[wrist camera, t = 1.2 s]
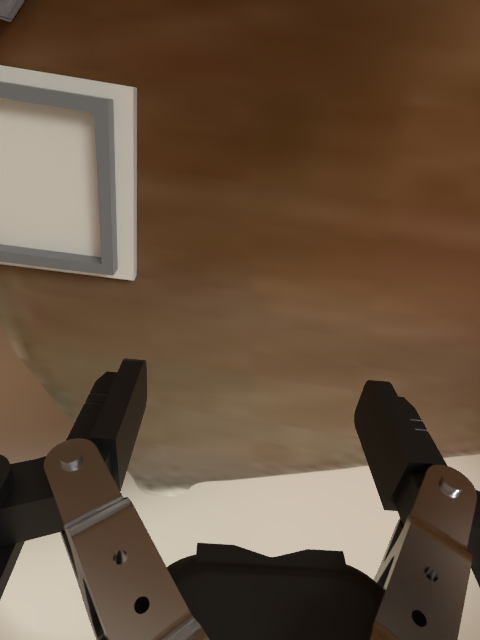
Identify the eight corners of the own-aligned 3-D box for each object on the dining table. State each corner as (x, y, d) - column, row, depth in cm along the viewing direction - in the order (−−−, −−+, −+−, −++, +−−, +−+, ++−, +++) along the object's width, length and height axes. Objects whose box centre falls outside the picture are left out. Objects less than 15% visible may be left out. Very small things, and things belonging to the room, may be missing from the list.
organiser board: (-96, 49, 28) (-126, 44, 25) (136, 87, 29) (128, 86, 27) (-44, 253, 36) (-63, 263, 33) (136, 275, 37) (130, 287, 35)
